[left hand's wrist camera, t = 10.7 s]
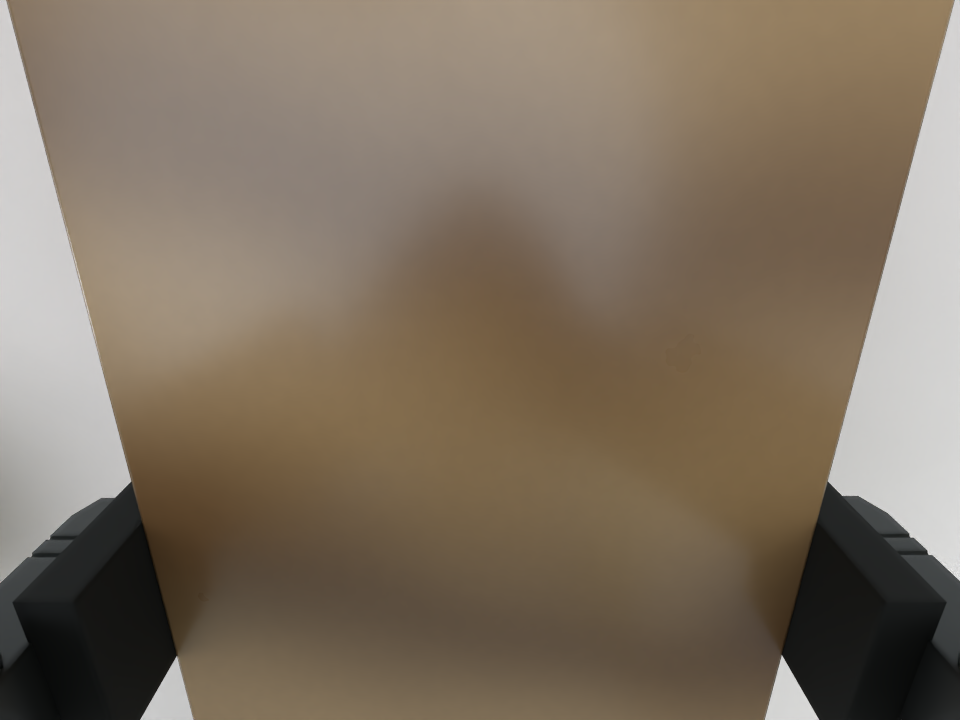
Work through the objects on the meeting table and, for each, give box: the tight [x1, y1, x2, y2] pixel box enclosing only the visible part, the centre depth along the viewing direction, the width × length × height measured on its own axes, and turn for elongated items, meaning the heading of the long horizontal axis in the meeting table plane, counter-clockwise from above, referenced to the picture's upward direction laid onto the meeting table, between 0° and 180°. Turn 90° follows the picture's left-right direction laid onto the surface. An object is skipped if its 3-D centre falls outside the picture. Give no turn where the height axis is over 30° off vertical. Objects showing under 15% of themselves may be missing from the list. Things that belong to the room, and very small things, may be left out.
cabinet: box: [6, 0, 955, 720], centre depth 11 cm, size 19×10×9 cm, turn 0°
